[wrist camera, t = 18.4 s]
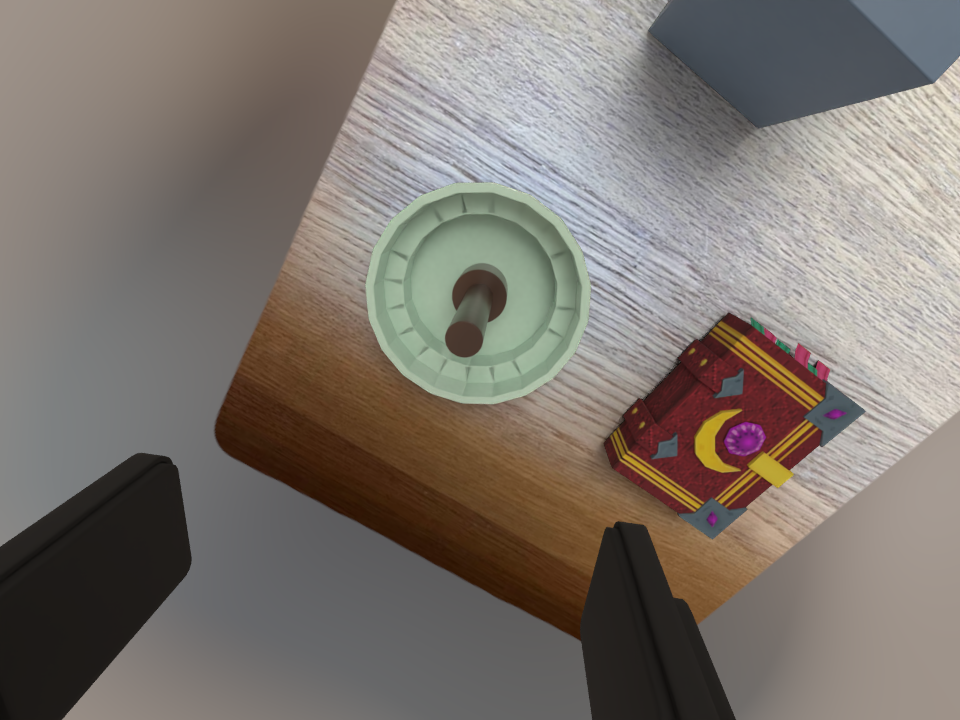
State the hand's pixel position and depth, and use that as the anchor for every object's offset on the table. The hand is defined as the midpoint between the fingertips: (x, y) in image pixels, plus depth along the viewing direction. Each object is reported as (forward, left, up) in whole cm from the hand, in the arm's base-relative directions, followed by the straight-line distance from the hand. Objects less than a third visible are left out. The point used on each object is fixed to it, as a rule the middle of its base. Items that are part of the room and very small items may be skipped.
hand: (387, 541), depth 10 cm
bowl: (0, 0, -28) cm, 28 cm away
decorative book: (+22, +3, -28) cm, 36 cm away
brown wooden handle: (0, 0, -28) cm, 28 cm away
